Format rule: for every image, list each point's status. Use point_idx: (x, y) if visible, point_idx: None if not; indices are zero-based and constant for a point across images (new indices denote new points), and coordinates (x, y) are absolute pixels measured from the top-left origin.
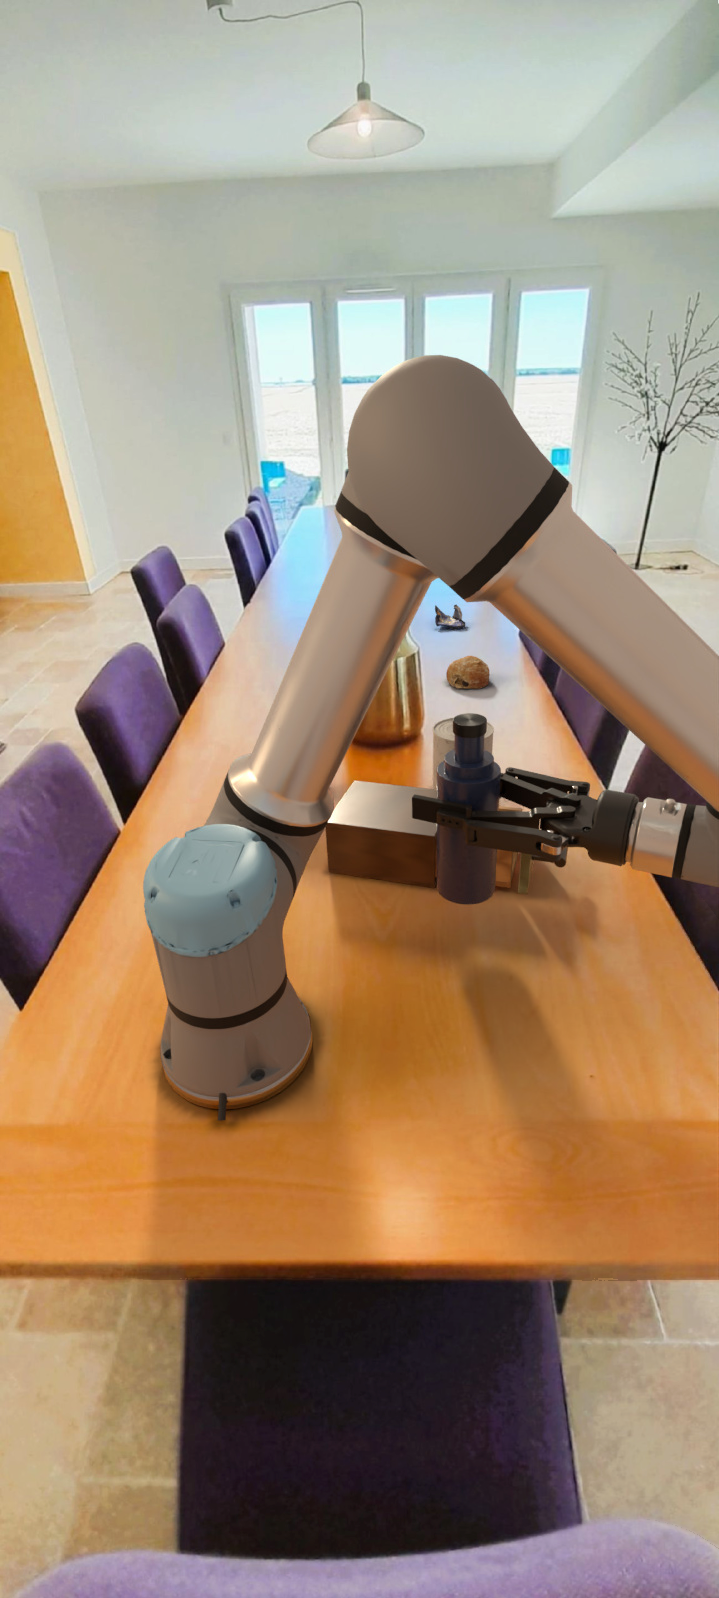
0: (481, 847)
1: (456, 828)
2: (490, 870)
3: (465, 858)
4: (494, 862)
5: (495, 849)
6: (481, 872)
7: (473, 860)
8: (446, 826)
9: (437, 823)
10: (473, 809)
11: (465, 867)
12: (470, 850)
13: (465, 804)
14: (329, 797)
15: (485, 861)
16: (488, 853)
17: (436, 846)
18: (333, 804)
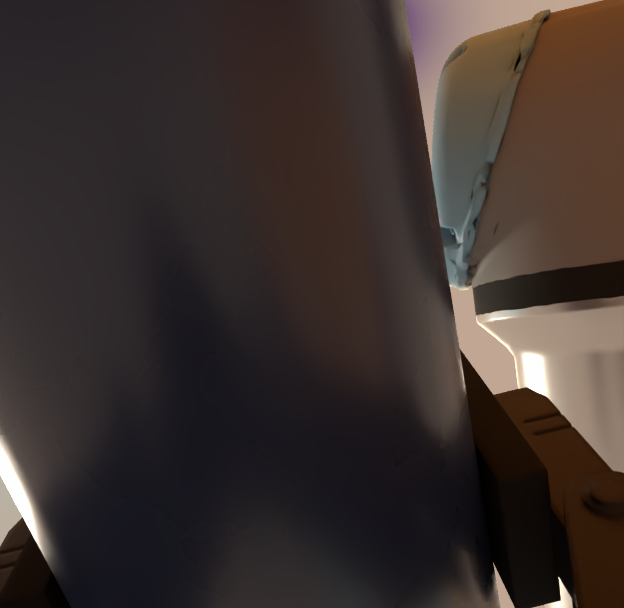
0: (402, 348)
1: (596, 454)
2: (184, 13)
3: (434, 193)
4: (99, 123)
5: (151, 319)
6: (326, 20)
7: (415, 189)
8: (563, 416)
9: (528, 389)
10: (489, 599)
11: (417, 94)
12: (444, 287)
13: (506, 586)
14: (614, 331)
15: (323, 184)
16: (314, 292)
17: None
18: (605, 311)
